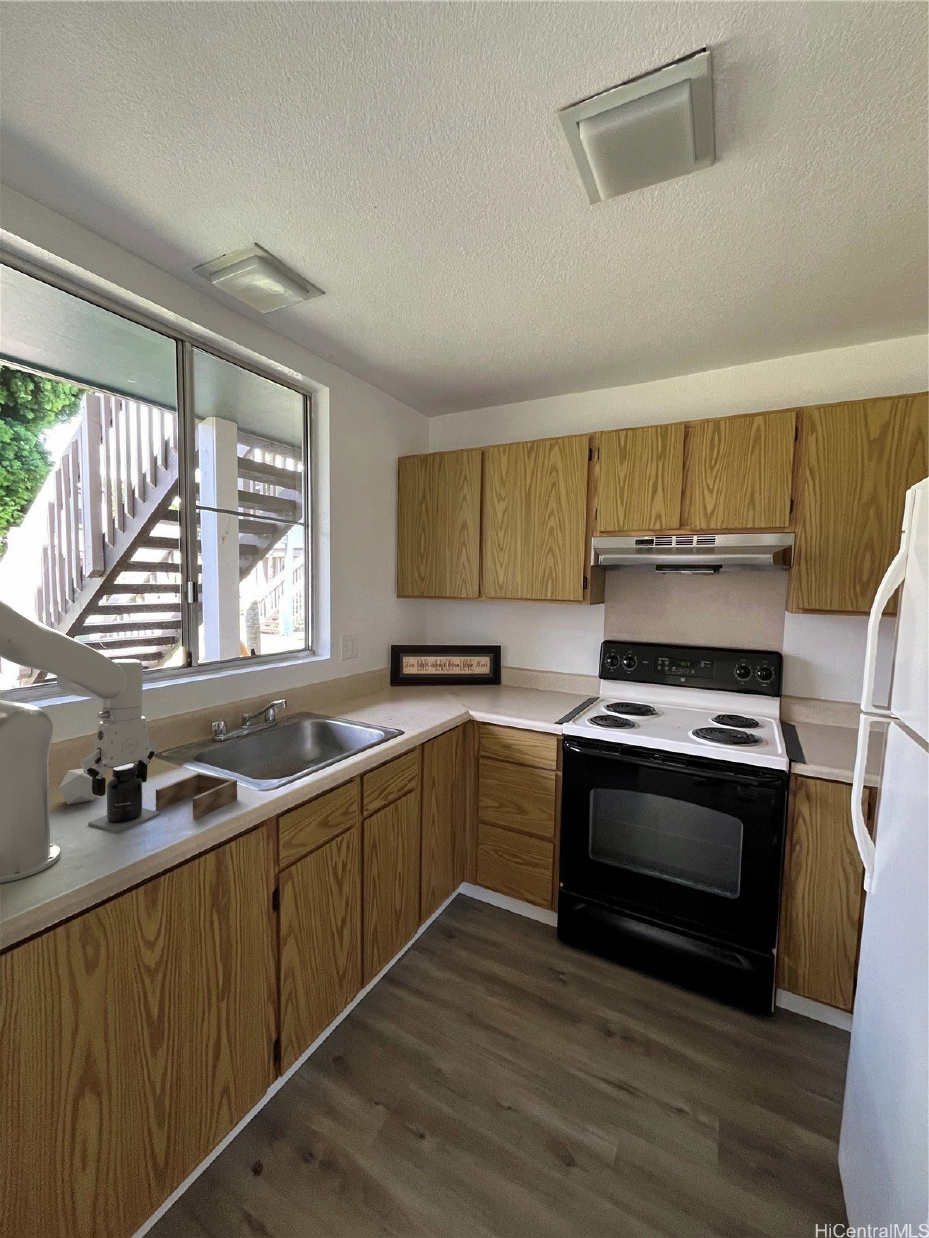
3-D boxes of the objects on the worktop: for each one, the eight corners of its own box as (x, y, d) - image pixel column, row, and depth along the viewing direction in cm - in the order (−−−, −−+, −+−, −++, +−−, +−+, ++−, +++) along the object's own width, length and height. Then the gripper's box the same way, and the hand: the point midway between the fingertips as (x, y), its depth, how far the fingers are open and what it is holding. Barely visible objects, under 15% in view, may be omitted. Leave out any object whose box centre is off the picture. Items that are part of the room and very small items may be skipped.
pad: (119, 833, 110) (119, 830, 110) (88, 825, 114) (88, 822, 114) (160, 814, 120) (160, 812, 120) (131, 807, 123) (131, 804, 123)
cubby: (196, 819, 118) (195, 798, 118) (155, 809, 122) (155, 789, 122) (237, 799, 130) (237, 780, 129) (199, 790, 134) (199, 772, 134)
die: (105, 793, 133) (81, 764, 132) (114, 785, 128) (89, 755, 127) (72, 815, 126) (46, 785, 125) (80, 807, 121) (54, 776, 120)
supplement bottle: (117, 826, 112) (116, 774, 111) (101, 819, 116) (99, 768, 115) (148, 815, 118) (148, 765, 117) (132, 808, 122) (131, 759, 121)
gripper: (94, 723, 106) (92, 803, 106) (168, 708, 122) (166, 778, 122) (70, 719, 108) (68, 797, 109) (146, 705, 125) (144, 774, 125)
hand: (120, 787), depth 116 cm, fingers open, 9 cm apart
